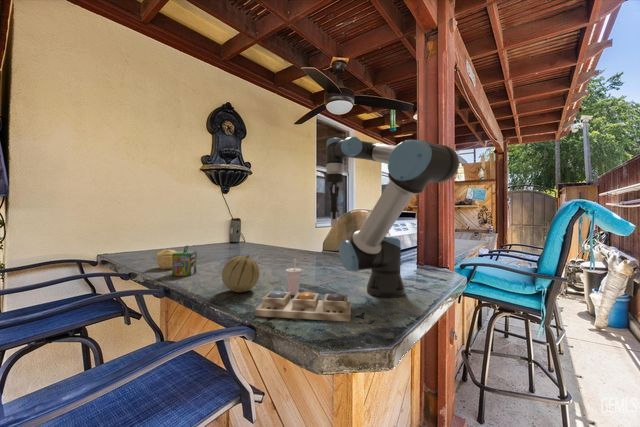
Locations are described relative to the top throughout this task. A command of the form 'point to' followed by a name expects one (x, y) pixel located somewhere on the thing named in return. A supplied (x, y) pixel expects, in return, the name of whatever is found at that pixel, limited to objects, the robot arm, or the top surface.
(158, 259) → the sculpture
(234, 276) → the cantaloupe
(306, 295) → the orange button
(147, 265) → the top surface
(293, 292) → the smoothie
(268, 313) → the button panel
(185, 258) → the chalk box
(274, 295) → the blue button
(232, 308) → the top surface
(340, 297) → the charcoal button
